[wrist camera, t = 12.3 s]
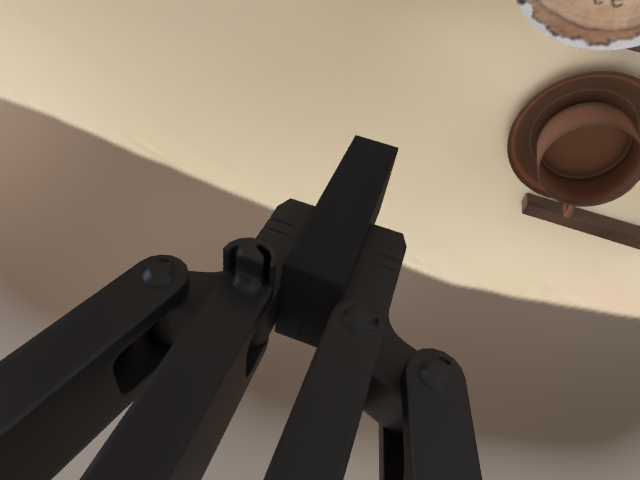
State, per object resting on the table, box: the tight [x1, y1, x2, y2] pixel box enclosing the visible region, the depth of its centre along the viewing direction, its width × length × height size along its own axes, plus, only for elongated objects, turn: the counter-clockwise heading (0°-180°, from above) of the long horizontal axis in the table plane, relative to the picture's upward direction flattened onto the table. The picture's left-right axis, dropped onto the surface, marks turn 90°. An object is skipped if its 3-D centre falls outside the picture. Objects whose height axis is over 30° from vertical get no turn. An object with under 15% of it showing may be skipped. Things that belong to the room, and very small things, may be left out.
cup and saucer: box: [507, 71, 640, 218], centre depth 38 cm, size 12×12×6 cm
